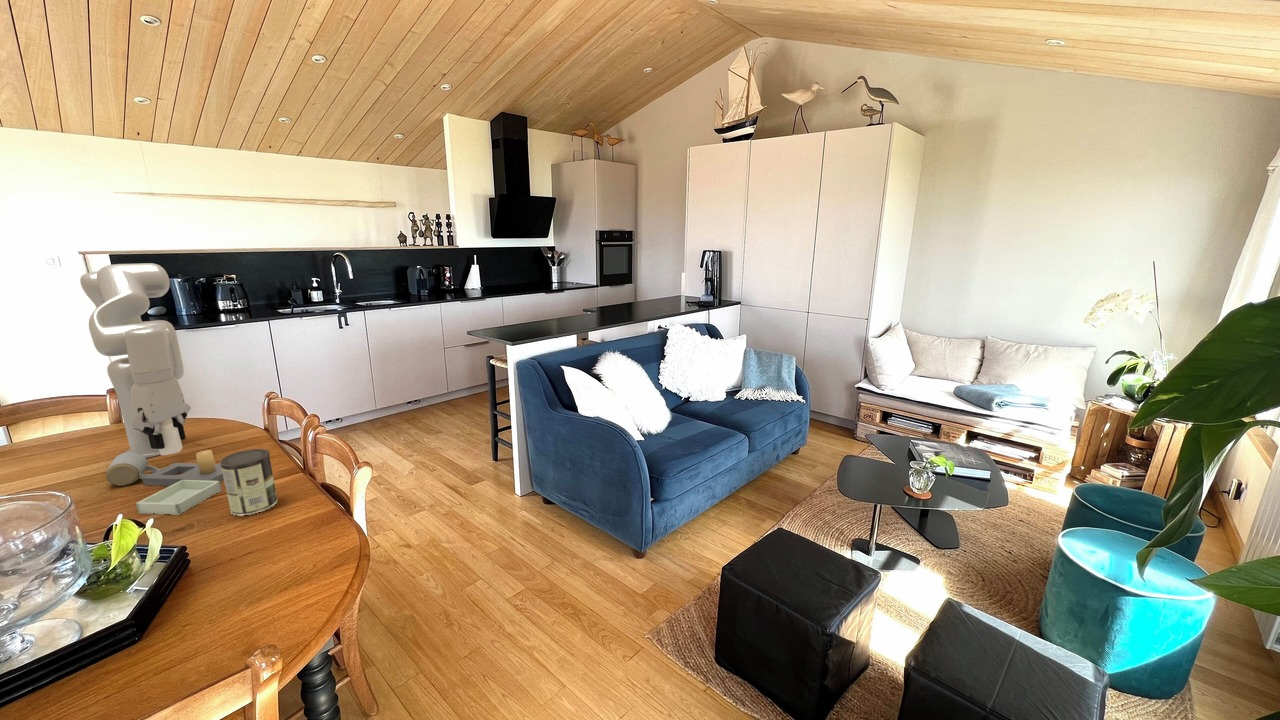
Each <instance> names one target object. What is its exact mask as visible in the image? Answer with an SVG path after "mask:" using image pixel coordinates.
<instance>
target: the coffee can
mask: <svg viewBox="0 0 1280 720" xmlns="http://www.w3.org/2000/svg"><path fill="white" fill-rule="evenodd" d="M270 455H271V454H270V451H269V450H267V449H264V448H256V449H255V448H254V449H246V450H242V451H238V452H234V453H231V454H229V455H227V456H225V457H223V458H222V459H220V461H219V464H220V466H221V468H222V473H223V477H224V482H223V483H224V485H225V491H226V495H227V501H228V505H229V510H230V511H229V512H231V513H230V514H231V515H232V514H233V515H232V516H235V515H237V516H236V517H245V516H244V515H249V516H253V515H256V514H255V513H257V514H259V513H258V512H261V513H263V512H265V510H266V511H268V510H270V509H271V507H272V508H273V507H274V506H276V505H277V504H278V500H279V498H278V496H277V495H278V494H277V490H276V486H275V479H274V475H273V474H274V473H273V468H272V463H271V457H270ZM275 504H276V505H275ZM267 509H268V510H267ZM262 511H263V512H262ZM252 514H253V515H252Z"/></svg>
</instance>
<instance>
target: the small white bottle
mask: <svg viewBox="0 0 1280 720" xmlns="http://www.w3.org/2000/svg"><path fill="white" fill-rule="evenodd" d="M159 433H160V434H162V436H163V441H164V445H165V448H163V449H159V452H160V454H161V455H160V456H167V455H168V456H169V455H174V454H178V453H180V452H181V451H182V450H183V444H182V443H183V442H182V440H181V439H180V435H179V431H178V428H177V427H173V422H172V418H170V419H167V420H164V421H161V422H160V426H159Z"/></svg>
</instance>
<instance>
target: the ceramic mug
mask: <svg viewBox="0 0 1280 720" xmlns="http://www.w3.org/2000/svg"><path fill="white" fill-rule="evenodd" d="M125 452H126V451H125ZM125 452H124V453H120V454H118V455H117V456H115V457H114V459H112V462H111V463H110V464H109V466H108V467H107V469H106V472H105V478H106V480H107V482H108V483H110V484H111V485H113V486H118V487H124V486H130V485H133V484H134V483H136V482H137V481H138V480H139V479H140V480H143V479H142V478H143V477H145V476H148V475H150V474H149V473H147V474H146V473H145V471H147V472H148V471H149V472H151V473H154V472H156V471H158V470H160V468H159V467H156V466H152V465H149V461H148V459H147V458H145V457H144V456H143V455H141V454H139V453H135V452H126V453H125Z"/></svg>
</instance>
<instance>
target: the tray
mask: <svg viewBox="0 0 1280 720" xmlns="http://www.w3.org/2000/svg"><path fill="white" fill-rule="evenodd" d="M221 483H222V482H220V481H206V480H181V481H179V482H177V483H175V484H173V485H171V486H166V487H165V488H163V489H161V490H159V491H156V493H153V494H151V495H150V496H147V497H145V498H143V499H141V500H140V501H138V502H136V503H135V506H136V509H137V514H138V515H139V514H141V515H142V514H144V515H145V514H146V515H164V514H171V515H170V516H180V515H181V513H182V514H184V513H186V512H187V511H189V510H191V509H192V508H194V507H196V506H198V505H199V504H201V503H203V502H205V501H206V500H208V499H210V498H212V497H213V496H215V495H217V494H219V493H220V492H222V491H223V488H222V485H221ZM216 493H217V494H216ZM214 494H215V495H214ZM212 495H213V496H212ZM211 496H212V497H211ZM209 497H210V498H209ZM207 498H208V499H207ZM204 500H205V501H204ZM202 501H203V502H202ZM200 502H201V503H200ZM198 503H199V504H198ZM197 504H198V505H197ZM195 505H196V506H195ZM193 506H194V507H193ZM191 507H192V508H191ZM190 508H191V509H190ZM188 509H189V510H188ZM186 510H187V511H186ZM183 512H184V513H183ZM153 513H155V514H153Z"/></svg>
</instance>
